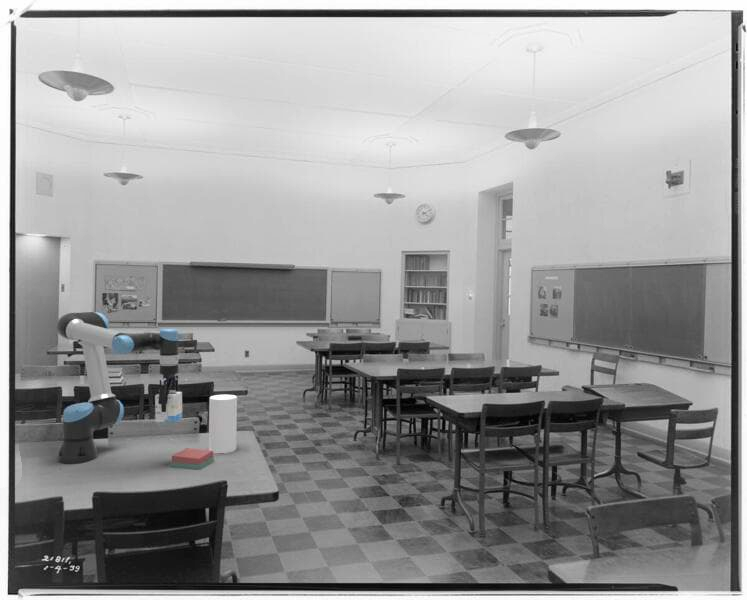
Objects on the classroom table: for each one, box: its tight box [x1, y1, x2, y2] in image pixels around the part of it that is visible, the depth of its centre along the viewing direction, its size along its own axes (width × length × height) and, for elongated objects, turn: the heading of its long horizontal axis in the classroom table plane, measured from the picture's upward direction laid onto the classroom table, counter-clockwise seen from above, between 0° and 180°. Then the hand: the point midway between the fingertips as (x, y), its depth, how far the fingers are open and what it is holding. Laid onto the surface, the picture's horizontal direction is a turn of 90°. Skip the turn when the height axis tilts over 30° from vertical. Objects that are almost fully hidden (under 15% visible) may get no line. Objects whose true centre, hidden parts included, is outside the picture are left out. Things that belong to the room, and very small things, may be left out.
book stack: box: [169, 447, 215, 471], centre depth 239 cm, size 14×12×5 cm
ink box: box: [154, 390, 183, 423], centre depth 239 cm, size 9×8×13 cm
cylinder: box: [208, 393, 238, 454], centre depth 260 cm, size 12×12×25 cm
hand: (169, 416), depth 240 cm, fingers closed on ink box, 8 cm apart
